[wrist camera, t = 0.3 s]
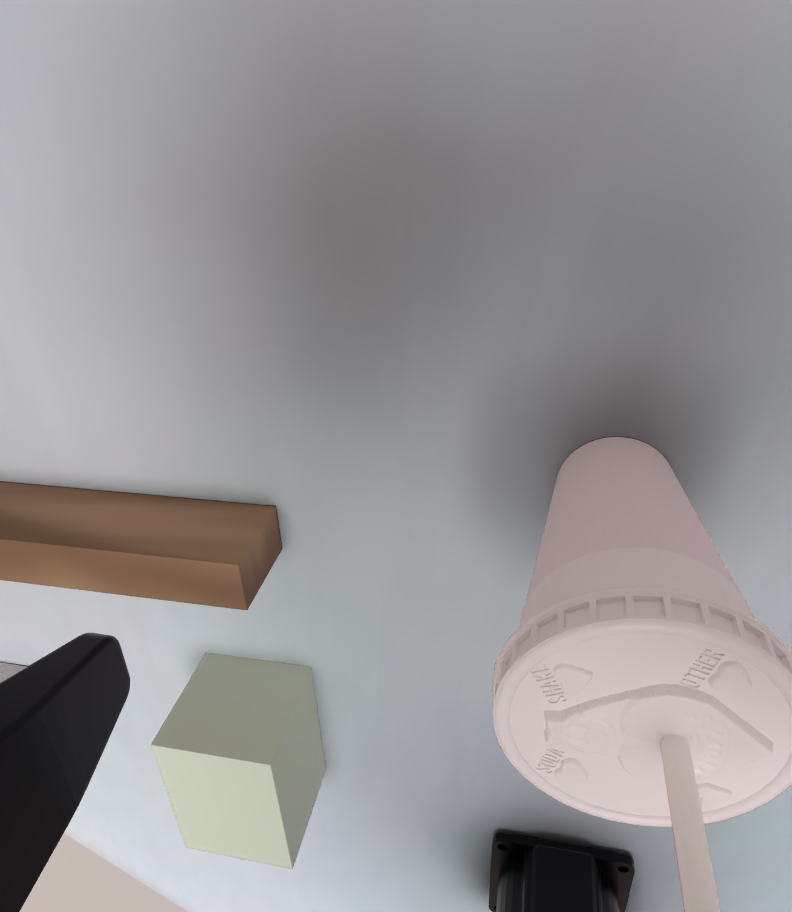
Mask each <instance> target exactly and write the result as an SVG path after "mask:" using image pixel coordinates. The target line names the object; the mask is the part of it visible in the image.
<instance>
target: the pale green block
mask: <svg viewBox="0 0 792 912" xmlns="http://www.w3.org/2000/svg"><path fill="white" fill-rule="evenodd" d="M151 747H152V750H153V753H154V756H155V759H156V762H157V765H158V768H159V771H160V774H161V776H162V779H163V782H164V785H165V788H166V791H167V794H168V797H169V800H170V803H171V806H172V809H173V812H174V814H175V817H176V820H177V823H178V826H179V829H180V832H181V835H182V838H183V841H184V844H185V847H186V848H190V849H195V850H199V851H204V852H209V853H214V854H219V855H224V856H229V857H234V858H239V859H244V860H249V861H254V862H259V863H264V864H269V865H274V866H279V867H284V868H289V869H293V866H294V863H295V860H296V857H297V854H298V851H299V848H300V845H301V842H302V839H303V836H304V833H305V830H306V827H307V824H308V821H309V818H310V815H311V812H312V809H313V806H314V803H315V800H316V797H317V794H318V791H319V788H320V785H321V782H322V779H323V776H324V773H325V770H326V765H325V758H324V751H323V744H322V737H321V731H320V724H319V717H318V710H317V703H316V696H315V690H314V683H313V676H312V669H311V667H308V666H301V665H294V664H286V663H279V662H271V661H264V660H257V659H249V658H242V657H235V656H227V655H220V654H212V653H206V654H205V655H204V657H203V659H202V660H201V662H200V664H199V665H198V667H197V669H196V670H195V672H194V674H193V675H192V677H191V679H190V680H189V682H188V684H187V685H186V687H185V689H184V690H183V692H182V694H181V695H180V697H179V699H178V700H177V702H176V704H175V705H174V707H173V709H172V710H171V712H170V714H169V715H168V717H167V719H166V720H165V722H164V724H163V725H162V727H161V729H160V730H159V732H158V734H157V735H156V737H155V739H154V740H153V742H152V744H151Z"/></svg>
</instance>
